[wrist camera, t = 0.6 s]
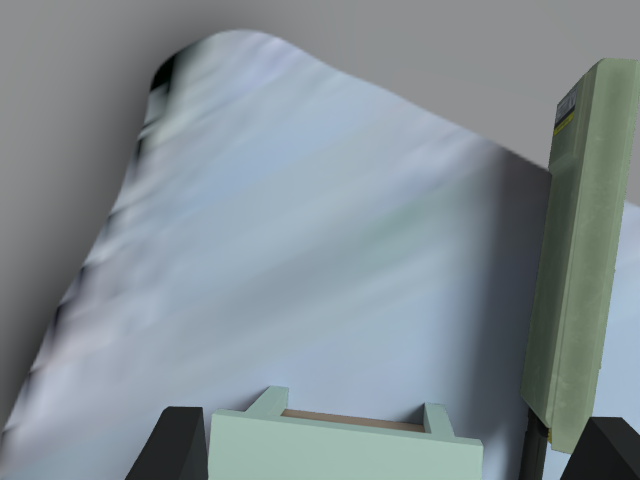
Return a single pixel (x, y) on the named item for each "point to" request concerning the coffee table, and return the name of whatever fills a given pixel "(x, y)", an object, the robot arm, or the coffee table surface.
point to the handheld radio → (577, 257)
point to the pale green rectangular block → (334, 447)
